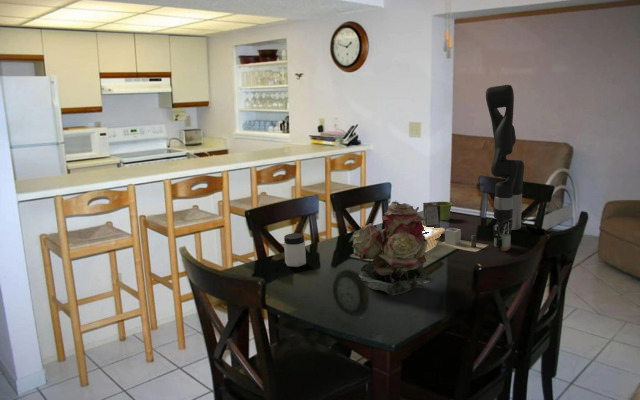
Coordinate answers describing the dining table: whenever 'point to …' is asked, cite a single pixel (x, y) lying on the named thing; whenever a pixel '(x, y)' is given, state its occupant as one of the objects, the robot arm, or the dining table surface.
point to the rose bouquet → (393, 250)
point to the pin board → (467, 245)
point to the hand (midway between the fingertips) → (502, 245)
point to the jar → (294, 250)
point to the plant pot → (444, 210)
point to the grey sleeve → (452, 236)
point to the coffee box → (431, 214)
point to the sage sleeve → (504, 242)
